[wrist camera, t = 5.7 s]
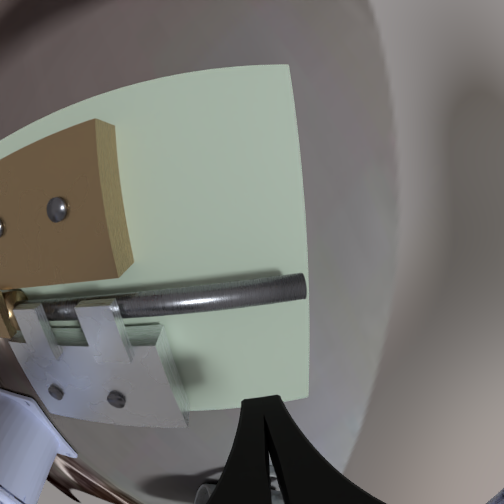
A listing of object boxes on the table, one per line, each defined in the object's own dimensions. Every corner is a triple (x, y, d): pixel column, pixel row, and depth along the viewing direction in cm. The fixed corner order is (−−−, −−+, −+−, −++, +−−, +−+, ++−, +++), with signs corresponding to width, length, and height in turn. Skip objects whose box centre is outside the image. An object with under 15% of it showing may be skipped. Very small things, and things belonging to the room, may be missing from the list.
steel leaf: (59, 396, 12) (46, 419, 10) (9, 292, 10) (-14, 310, 8) (190, 405, 12) (186, 436, 10) (151, 279, 10) (135, 303, 8)
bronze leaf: (11, 318, 11) (-12, 339, 8) (-21, 182, 8) (-51, 187, 6) (297, 297, 11) (314, 327, 9) (281, 100, 9) (296, 79, 7)
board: (54, 392, 13) (49, 399, 12) (-17, 157, 9) (-26, 157, 8) (304, 387, 14) (308, 397, 13) (284, 71, 9) (288, 64, 9)
